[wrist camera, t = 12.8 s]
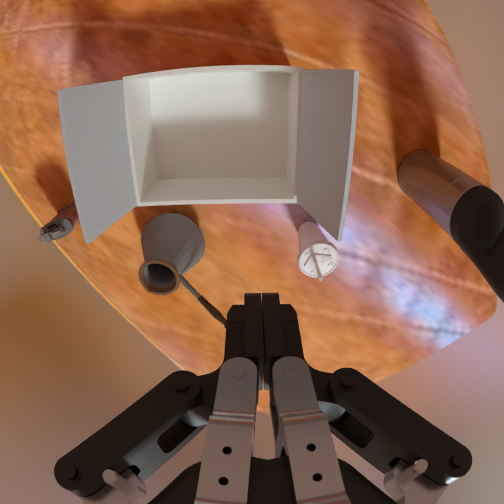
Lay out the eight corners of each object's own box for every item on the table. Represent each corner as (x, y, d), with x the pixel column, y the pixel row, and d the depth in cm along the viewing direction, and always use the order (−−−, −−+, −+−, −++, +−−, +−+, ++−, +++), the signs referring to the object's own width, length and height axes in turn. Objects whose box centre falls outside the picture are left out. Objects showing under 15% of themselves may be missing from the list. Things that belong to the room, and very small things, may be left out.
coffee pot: (135, 239, 54) (106, 289, 41) (166, 193, 49) (139, 237, 37) (224, 297, 62) (219, 354, 49) (261, 261, 57) (265, 318, 44)
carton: (292, 69, 39) (303, 66, 30) (288, 179, 48) (297, 203, 40) (147, 76, 39) (122, 77, 30) (156, 182, 48) (137, 206, 40)
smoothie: (285, 221, 52) (296, 268, 41) (320, 209, 51) (341, 253, 39) (296, 250, 56) (308, 301, 44) (329, 239, 54) (350, 287, 43)
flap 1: (60, 89, 21) (57, 90, 21) (88, 244, 30) (85, 243, 30) (123, 79, 30) (119, 80, 30) (137, 205, 39) (134, 205, 39)
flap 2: (302, 69, 30) (306, 69, 30) (296, 202, 39) (299, 202, 39) (354, 70, 21) (358, 70, 22) (337, 241, 31) (341, 240, 31)
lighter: (63, 224, 52) (38, 251, 43) (56, 209, 50) (30, 234, 42) (93, 213, 51) (68, 240, 42) (86, 197, 49) (59, 222, 41)
